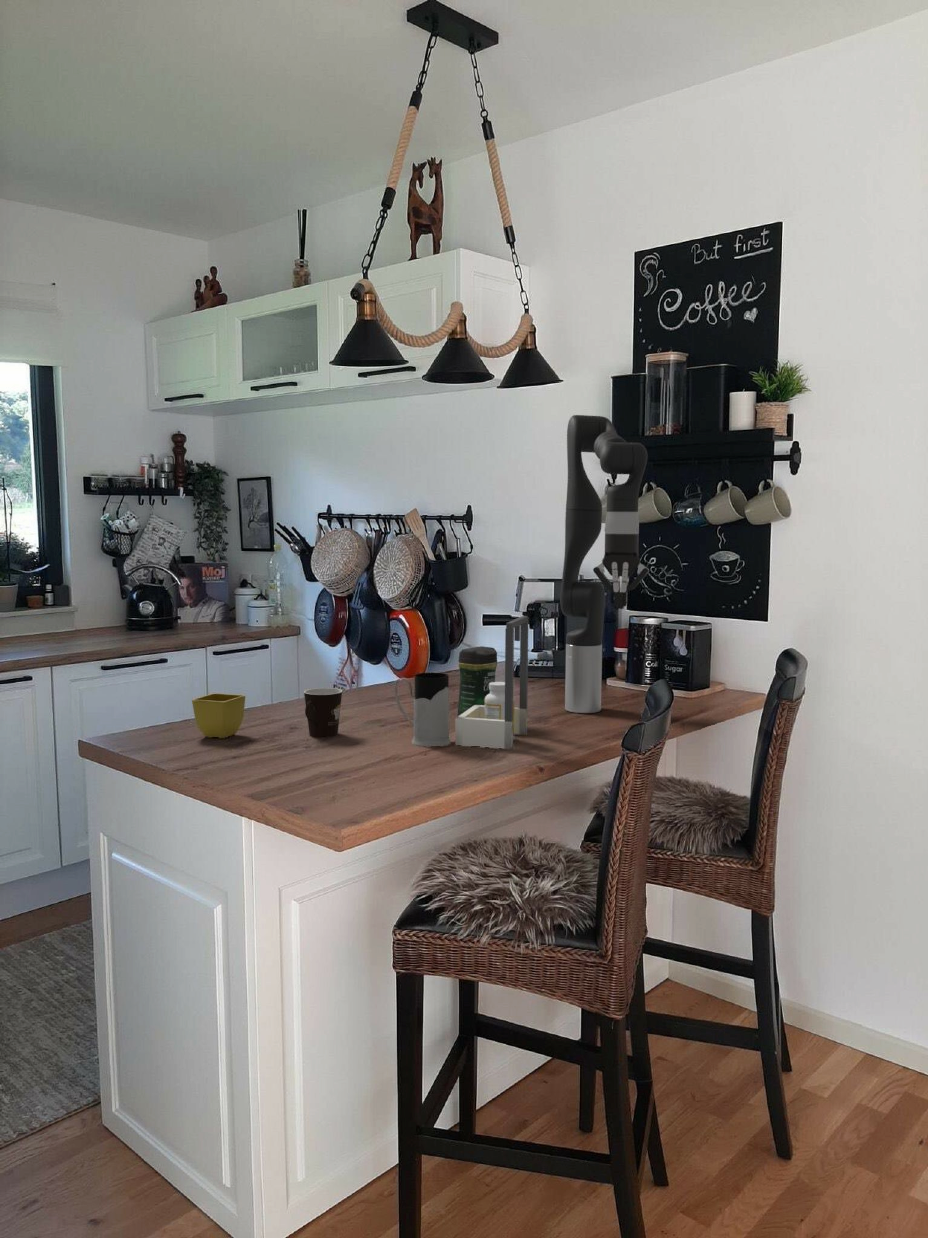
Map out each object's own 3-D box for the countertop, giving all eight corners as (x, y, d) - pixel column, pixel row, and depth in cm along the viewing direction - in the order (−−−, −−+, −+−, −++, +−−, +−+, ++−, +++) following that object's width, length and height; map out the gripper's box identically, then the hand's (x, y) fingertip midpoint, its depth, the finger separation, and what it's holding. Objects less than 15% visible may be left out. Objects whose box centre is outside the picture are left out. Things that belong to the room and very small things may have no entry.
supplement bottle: (509, 736, 220) (510, 680, 219) (517, 742, 214) (518, 685, 213) (481, 737, 219) (481, 681, 218) (488, 744, 212) (489, 686, 211)
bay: (474, 730, 226) (475, 614, 224) (527, 733, 223) (528, 616, 220) (455, 745, 211) (455, 621, 208) (511, 749, 208) (512, 623, 205)
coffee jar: (477, 728, 228) (478, 650, 226) (452, 723, 233) (452, 647, 231) (502, 722, 236) (503, 646, 234) (477, 717, 241) (477, 643, 239)
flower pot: (191, 738, 217) (190, 699, 216) (214, 730, 225) (213, 692, 224) (225, 742, 214) (224, 701, 213) (247, 733, 222) (246, 695, 221)
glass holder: (437, 748, 208) (437, 679, 206) (383, 740, 215) (383, 674, 214) (458, 741, 215) (458, 674, 214) (406, 733, 223) (406, 668, 221)
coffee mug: (327, 728, 227) (327, 686, 226) (350, 734, 221) (349, 691, 220) (285, 736, 219) (285, 692, 218) (308, 742, 213) (307, 698, 212)
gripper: (653, 532, 220) (651, 608, 222) (595, 531, 224) (593, 606, 226) (650, 532, 213) (648, 611, 215) (590, 532, 217) (588, 609, 219)
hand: (620, 608), depth 220 cm, fingers closed
